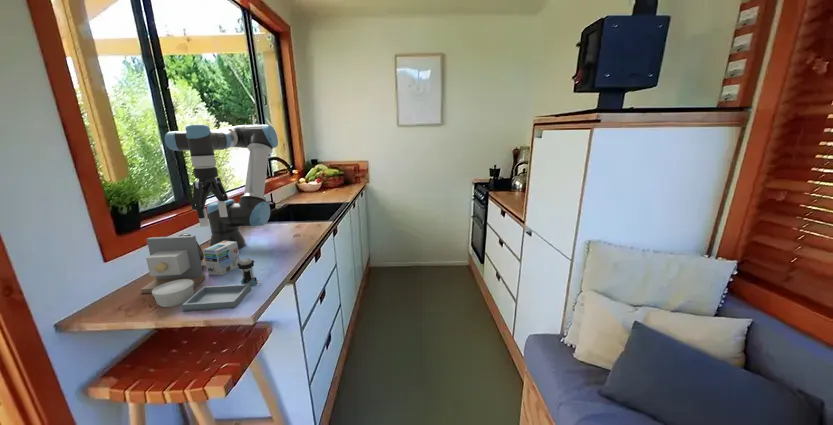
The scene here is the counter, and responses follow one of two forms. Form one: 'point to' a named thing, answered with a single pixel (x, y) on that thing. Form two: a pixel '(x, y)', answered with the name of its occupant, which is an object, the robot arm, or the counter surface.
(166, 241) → the mounted unit
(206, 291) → the tray
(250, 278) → the push button
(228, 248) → the light bulb box
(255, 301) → the counter surface
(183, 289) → the ramekin
